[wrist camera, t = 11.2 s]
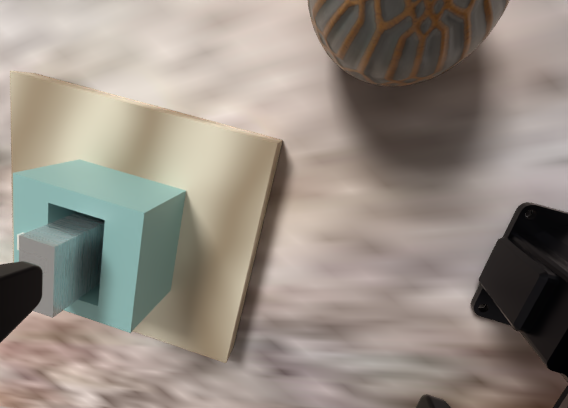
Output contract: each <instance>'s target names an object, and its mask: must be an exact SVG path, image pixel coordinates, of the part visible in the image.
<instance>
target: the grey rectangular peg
mask: <svg viewBox="0 0 568 408" xmlns="http://www.w3.org/2000/svg"><path fill="white" fill-rule="evenodd" d="M104 224H105V220H103V219H99V218H96V217H93V216H90V215H87V214H83V213H80V212H76V213H74V214H71V215H69V216H66V217H64V218H61V219H59V220H56V221H54V222H51V223H49V224H46V225H44V226H41V227H39V228H36V229H34V230H31V231H29V232H26V233H24V234H21V235H19V262H21V261H25V262H29V263H32V264H35V265H38V266H39V267H41V269H42V271H43V287H42V298H41V301H40V303H39V304H38V306H37V307H36V308H35V309H34V310H33V311H35V312H38V313H41V314H44V315H47V316H50V317H52V318H53V317H54V316H56V315H57V314H58V313H60V312H61V311H63V310H64V309H65V308H67V307H68V306H69V305H71V304H72V303H74V302H75V301H76V300H78V299H79V298H81V297H82V296H83V295H85V294H86V293H87V292H89V291H90V290H92V289H93V288H94V287H96V286H97V285H98V284H100V275H101V262H102V249H103V237H104Z"/></svg>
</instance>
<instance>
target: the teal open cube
mask: <svg viewBox="0 0 568 408" xmlns="http://www.w3.org/2000/svg"><path fill="white" fill-rule="evenodd" d="M185 195H186V190H182V189H179V188H175V187H172V186H169V185H165V184H162V183H158V182H155V181H152V180H148V179H145V178H141V177H138V176H135V175H131V174H128V173H124V172H121V171H117V170H114V169H111V168H107V167H104V166H100V165H97V164H94V163H90V162H87V161H83V160H80V159H79V160H74V161H69V162H64V163H59V164H54V165H49V166H44V167H39V168H34V169H30V170H25V171H20V172H15V173H13V222H14V262H19V235H21V234H24V233H26V232H29V231H31V230H34V229H36V228H39V227H41V226H44V225H46V224H49V223H51V222H54V221H56V220H59V219H61V218H64V217H66V216H69V215H71V214H74V213H76V212H80V213H83V214H87V215H90V216H93V217H96V218H99V219H103V220H105V224H104V237H103V249H102V262H101V275H100V284H98V285H97V286H96V287H94V288H93V289H92V290H90V291H89V292H87V293H86V294H85V295H83V296H82V297H81V298H79V299H78V300H76V301H75V302H74V303H72V304H71V305H69V306H68V307H67V308H65V309H64V310H65V311H68V312H71V313H74V314H77V315H80V316H82V317H85V318H88V319H91V320H94V321H97V322H100V323H103V324H106V325H109V326H112V327H115V328H118V329H120V330H123V331H126V332H129V333H131V332H132V331H133V330H134V329H135V327H136V326H137V325H138V324H139V323H140V322H141V321H142V320H143V319H144V318H145V317H146V316H147V315H148V314H149V313H150V312H151V311H152V310H153V308H154V307H155V306H156V305H157V304H158V303H159V302H160V301H161V300H162V299H163V298H164V297H165V296H166V295H167V294H168V293H169V292H170V291H171V285H172V278H173V272H174V266H175V259H176V253H177V246H178V240H179V233H180V227H181V220H182V214H183V208H184V201H185Z"/></svg>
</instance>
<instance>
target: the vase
mask: <svg viewBox="0 0 568 408" xmlns="http://www.w3.org/2000/svg"><path fill="white" fill-rule="evenodd" d="M509 1H510V0H308V7H309V12H310V17H311V21H312V24H313V27H314V30H315V33H316V35H317V37H318V39H319V41H320V43H321V45H322V46H323V48H324V50H325V51H326V53H327V54H328V55H329V57H330V58H331V59H332V60H333V61H334V62H335V63H336V64H337V65H338V66H339V67H340V68H341V69H343V70H344V71H345V72H347V73H348V74H350V75H351V76H353V77H355V78H357V79H359V80H362V81H364V82H367V83H370V84H375V85H380V86H405V85H411V84H416V83H420V82H423V81H426V80H429V79H431V78H434V77H436V76H438V75H440V74H442V73H444V72H446V71H448V70H449V69H451V68H453V67H454V66H456V65H457V64H458V63H460V62H461V61H462V60H464V59H465V58H466V57H467V56H469V55H470V54H471V53H472V52H473V51H474V50H475V49H476V48H477V47H478V46H479V45H480V44H481V43H482V42H483V41H484V39H485V38H486V37H487V36H488V35H489V33H490V32H491V31H492V29H493V28H494V27H495V25H496V24H497V22H498V20H499V19H500V17H501V16H502V14H503V12H504V11H505V9H506V7H507V5H508V3H509Z"/></svg>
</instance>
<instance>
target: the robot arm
mask: <svg viewBox="0 0 568 408" xmlns="http://www.w3.org/2000/svg"><path fill="white" fill-rule="evenodd" d="M528 210H533V212H532V214H531V216H529V217H525V213H526V212H527V211H528ZM479 281H480V285H479V287H478V289H477V291H476V293H475V295H474V297H473V299H472V301H471V307H472V309H473V311H474V312H475V313H476V314H477V315H479V316H482V317H485V318H488V319H492V320H495V321H498V322H502V323H505V324H508V325H511V326H512V327H513V328H514V329H515V330H516V331H520V332H521V334H522V335H523V336H524V337H525V339H526V340H527V341H528V343H529V344H530V345H531V347H532V348H533V349H534V351H535V352H536V353H537V354H538V356H539V357H540V358H541V360H542V361H543V362H544V364H545V365H546V366H547V367H548V369H550V370H552V371H555V372H558V373H561V375H562V376H563V377H564V378H565V380H566V381H567V382H568V212H564V211H560V210H556V209H553V208H549V207H545V206H542V205H538V204H534V203H528V202H527V203H523V204H521V205H520V206H519V207H518V208H517V209H516V211H515V213H514V215H513V218H512V220H511V222H510V224H509V226H508V228H507V230H506V232H505V234H504V236H503V237H502V238H500V239H499V240H498V241H497V243H496V245H495V247H494V249H493V251H492V253H491V255H490V257H489V259H488V261H487V264H486V266H485V268H484V270H483V272H482V274H481V276H480V278H479ZM42 287H43V271H42V269H41V267H39V266H38V265H35V264H32V263H29V262H25V261H21V262H14V263H8V264H2V265H0V343H1V342H2V341H3V340H4V339H5V338H6V337H7V336H8V335H9V334H10V333H11V332H12V331H13V330H14V329H15V328H16V327H17V326H18V325H19V324H20V323H21V322H22V321H23V320H24V319H25V318H26V317H27V316H28V315H29V314H30V313H31V312H32V311H33V310H34V309H35V308H36V307H37V306H38V304H39V303H40V301H41V298H42ZM481 304H486V306H485V307H483V308H478V307H479V306H480V305H481ZM416 408H451V407H450V406H449V405H448V404H447V403H446V402H445V401H444V400H442V399H440V398H437V397H434V396H431V395H427V394H426V395H423V396H422V397H421V399H420V401H419V403H418V405H417V407H416ZM553 408H568V386H567V387H566V389H565V390H564V392H563V393H562V395H561V396H560V398H559V399H558V401H557V402H556V404H555V405H554V407H553Z"/></svg>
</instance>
